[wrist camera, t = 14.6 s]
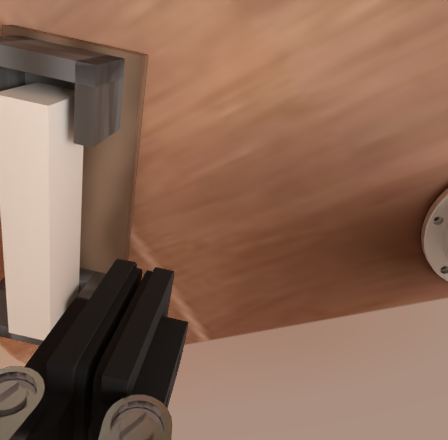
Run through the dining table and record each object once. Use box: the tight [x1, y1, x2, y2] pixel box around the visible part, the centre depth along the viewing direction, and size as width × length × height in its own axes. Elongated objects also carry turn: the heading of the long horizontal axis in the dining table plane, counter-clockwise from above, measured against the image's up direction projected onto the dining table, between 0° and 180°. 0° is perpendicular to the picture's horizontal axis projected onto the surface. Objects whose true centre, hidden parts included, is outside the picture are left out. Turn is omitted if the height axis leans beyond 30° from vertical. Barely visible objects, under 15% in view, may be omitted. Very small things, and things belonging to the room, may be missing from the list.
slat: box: [0, 82, 83, 341], centre depth 35 cm, size 22×4×6 cm, turn 169°
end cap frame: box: [0, 25, 148, 345], centre depth 38 cm, size 12×29×8 cm, turn 169°
